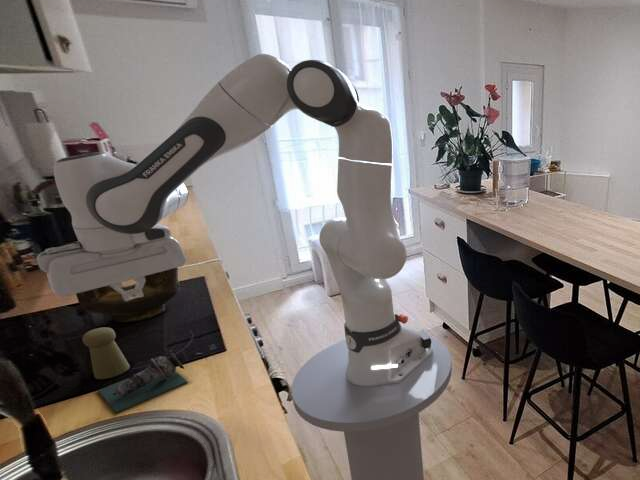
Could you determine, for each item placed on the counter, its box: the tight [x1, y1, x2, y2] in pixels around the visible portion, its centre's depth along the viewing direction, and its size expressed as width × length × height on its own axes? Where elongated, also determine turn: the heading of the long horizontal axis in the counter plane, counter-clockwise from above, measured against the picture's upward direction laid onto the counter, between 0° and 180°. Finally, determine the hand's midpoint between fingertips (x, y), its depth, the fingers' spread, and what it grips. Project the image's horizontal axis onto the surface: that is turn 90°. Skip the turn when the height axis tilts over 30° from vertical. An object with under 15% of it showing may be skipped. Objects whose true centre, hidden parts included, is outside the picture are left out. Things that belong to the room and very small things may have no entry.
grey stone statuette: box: [112, 349, 186, 395], centre depth 91 cm, size 6×6×12 cm
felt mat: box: [97, 371, 189, 414], centre depth 91 cm, size 12×12×1 cm
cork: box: [81, 326, 131, 380], centre depth 94 cm, size 6×6×11 cm
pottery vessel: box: [75, 267, 181, 323], centre depth 117 cm, size 25×11×20 cm, turn 132°
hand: (134, 298), depth 86 cm, fingers closed
